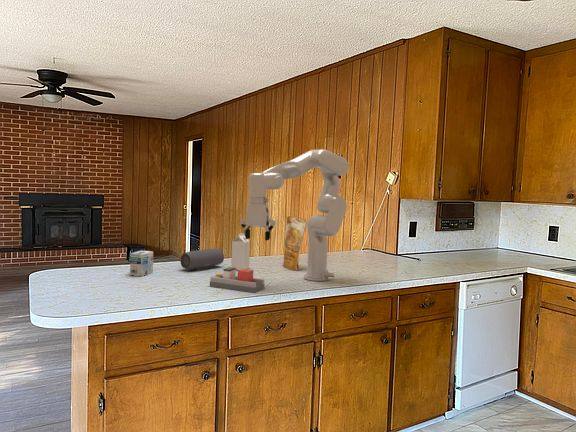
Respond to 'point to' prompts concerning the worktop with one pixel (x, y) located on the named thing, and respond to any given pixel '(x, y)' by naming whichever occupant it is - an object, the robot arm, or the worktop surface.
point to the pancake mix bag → (293, 241)
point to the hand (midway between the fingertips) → (257, 239)
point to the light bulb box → (141, 263)
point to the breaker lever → (229, 273)
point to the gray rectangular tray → (236, 283)
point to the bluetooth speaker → (201, 259)
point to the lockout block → (245, 275)
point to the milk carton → (240, 252)
